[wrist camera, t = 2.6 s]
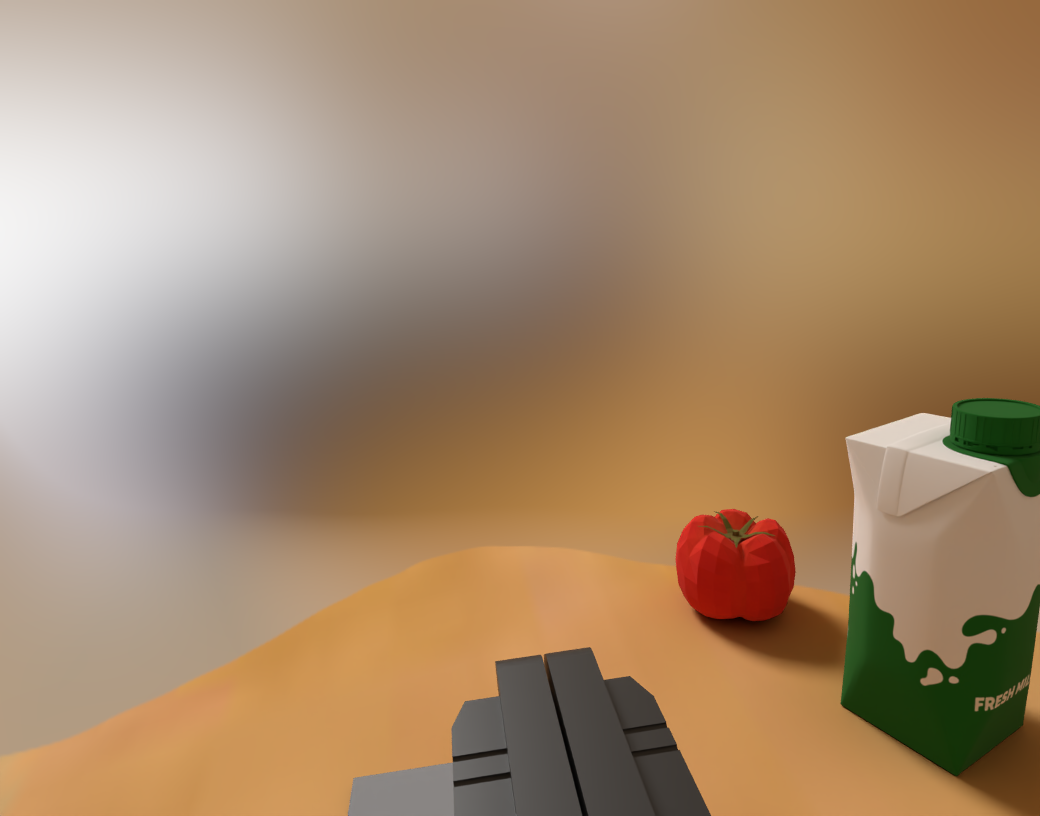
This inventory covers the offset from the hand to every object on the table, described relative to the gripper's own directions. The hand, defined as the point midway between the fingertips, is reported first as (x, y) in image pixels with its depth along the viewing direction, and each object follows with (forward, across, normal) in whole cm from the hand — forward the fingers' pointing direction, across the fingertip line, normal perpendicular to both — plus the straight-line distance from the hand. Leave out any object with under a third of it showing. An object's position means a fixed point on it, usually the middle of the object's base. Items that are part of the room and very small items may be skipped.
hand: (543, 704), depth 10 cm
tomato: (+38, -20, +24) cm, 49 cm away
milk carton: (+24, -26, +24) cm, 42 cm away
